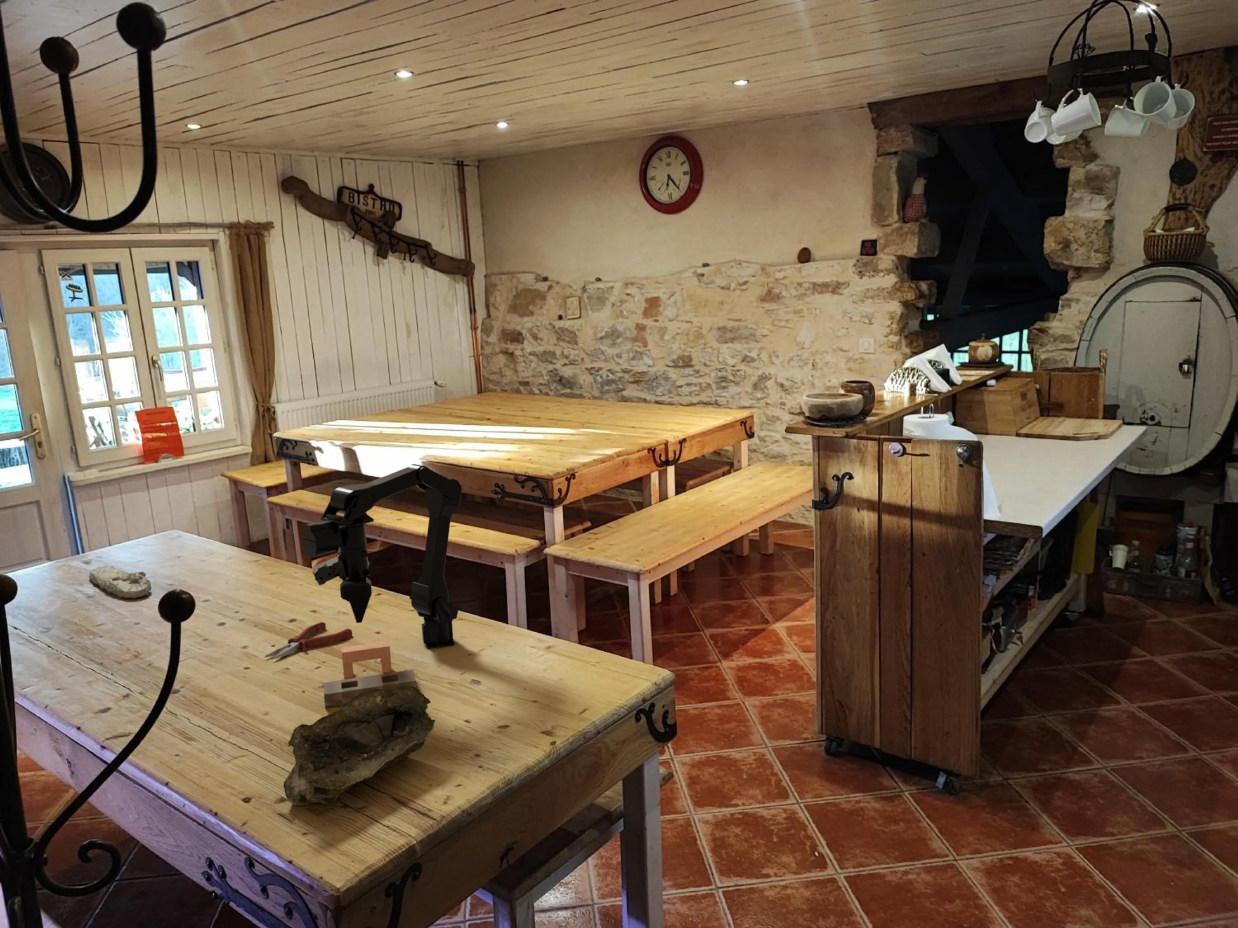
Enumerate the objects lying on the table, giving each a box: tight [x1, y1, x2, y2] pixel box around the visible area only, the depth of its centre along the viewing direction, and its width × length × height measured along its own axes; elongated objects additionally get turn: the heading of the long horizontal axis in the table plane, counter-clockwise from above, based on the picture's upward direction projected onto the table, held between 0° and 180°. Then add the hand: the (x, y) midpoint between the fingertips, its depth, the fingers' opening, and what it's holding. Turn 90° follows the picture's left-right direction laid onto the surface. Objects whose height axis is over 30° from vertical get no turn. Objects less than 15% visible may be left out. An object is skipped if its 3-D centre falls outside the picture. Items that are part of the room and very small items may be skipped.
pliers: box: [264, 621, 353, 660], centre depth 212 cm, size 12×20×3 cm, turn 149°
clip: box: [341, 640, 392, 679], centre depth 195 cm, size 10×3×6 cm, turn 108°
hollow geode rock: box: [283, 686, 436, 807], centre depth 153 cm, size 28×13×15 cm
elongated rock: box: [88, 565, 152, 599], centre depth 261 cm, size 35×5×10 cm
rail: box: [323, 669, 417, 710], centre depth 185 cm, size 18×6×3 cm, turn 108°
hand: (358, 615), depth 194 cm, fingers open, 9 cm apart
